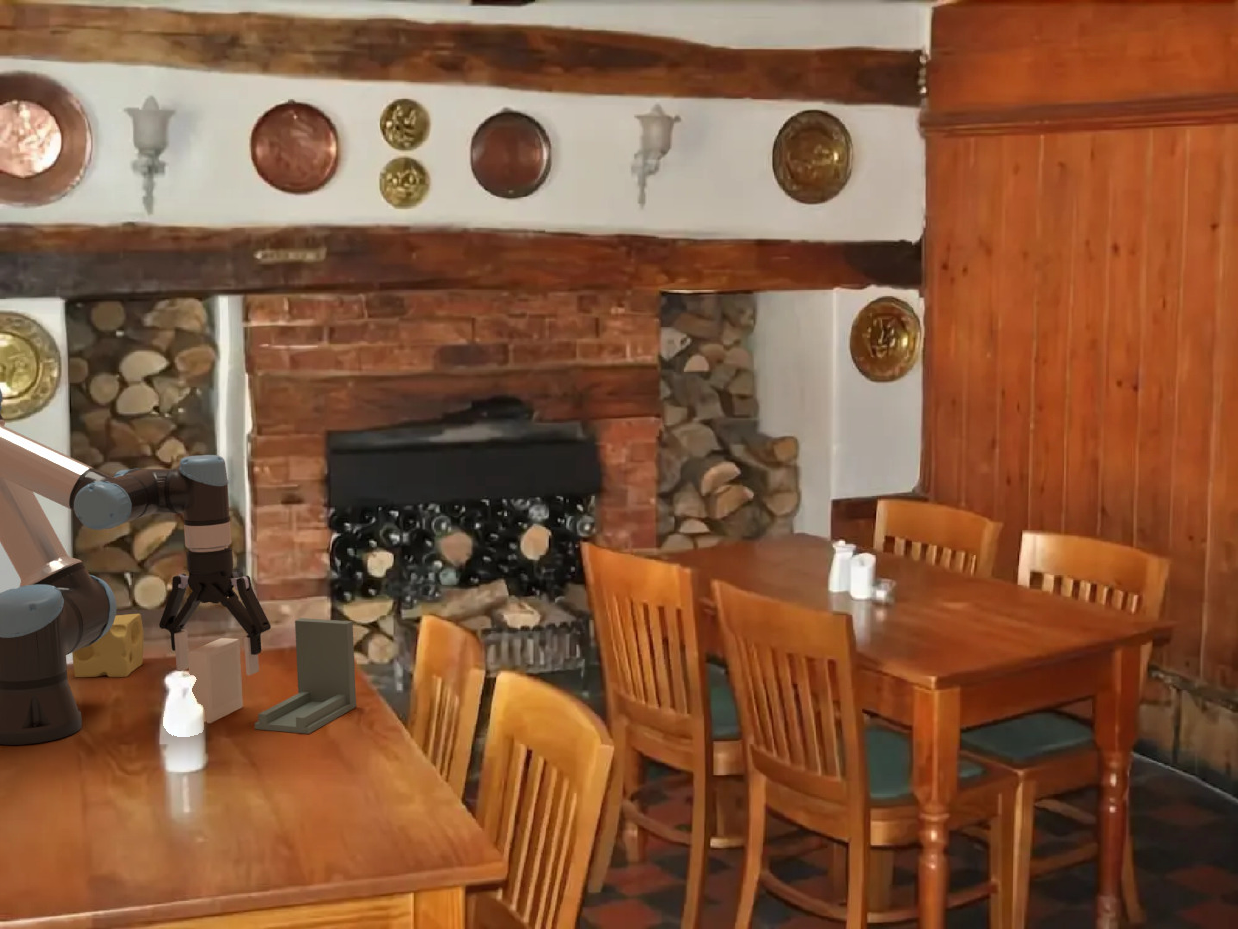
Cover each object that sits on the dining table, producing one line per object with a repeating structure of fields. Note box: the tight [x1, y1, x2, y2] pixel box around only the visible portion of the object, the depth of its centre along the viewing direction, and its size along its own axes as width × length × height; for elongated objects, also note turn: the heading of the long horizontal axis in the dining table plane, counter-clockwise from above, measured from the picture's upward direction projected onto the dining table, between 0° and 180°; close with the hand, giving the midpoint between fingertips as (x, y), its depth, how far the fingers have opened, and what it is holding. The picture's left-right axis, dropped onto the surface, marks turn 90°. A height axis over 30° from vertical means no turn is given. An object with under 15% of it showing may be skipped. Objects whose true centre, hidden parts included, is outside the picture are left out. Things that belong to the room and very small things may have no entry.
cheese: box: [71, 613, 144, 678], centre depth 293 cm, size 10×11×10 cm
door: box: [188, 637, 244, 724], centre depth 262 cm, size 10×4×12 cm, turn 161°
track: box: [254, 617, 357, 735], centre depth 258 cm, size 16×10×15 cm, turn 161°
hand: (217, 671), depth 261 cm, fingers open, 13 cm apart
